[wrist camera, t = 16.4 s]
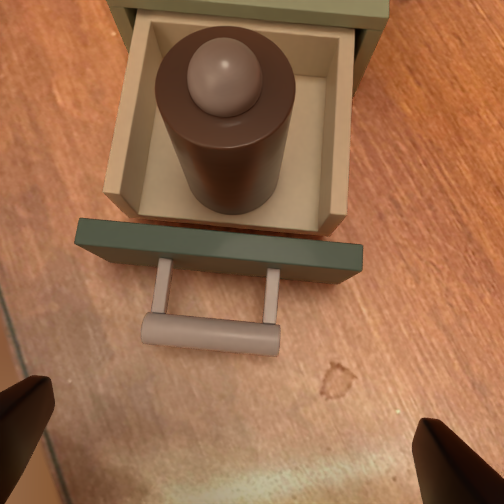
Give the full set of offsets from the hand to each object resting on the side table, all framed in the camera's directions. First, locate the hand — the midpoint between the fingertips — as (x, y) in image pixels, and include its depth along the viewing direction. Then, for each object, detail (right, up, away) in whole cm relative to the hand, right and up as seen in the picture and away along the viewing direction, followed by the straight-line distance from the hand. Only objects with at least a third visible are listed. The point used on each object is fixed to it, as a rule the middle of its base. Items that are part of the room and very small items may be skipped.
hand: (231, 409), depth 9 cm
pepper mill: (-1, +8, +11) cm, 14 cm away
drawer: (-1, +7, +12) cm, 14 cm away
